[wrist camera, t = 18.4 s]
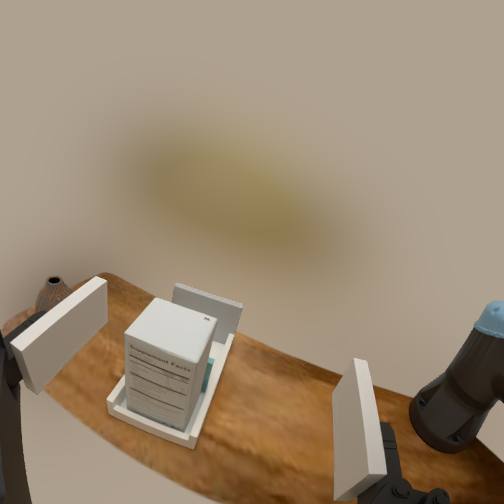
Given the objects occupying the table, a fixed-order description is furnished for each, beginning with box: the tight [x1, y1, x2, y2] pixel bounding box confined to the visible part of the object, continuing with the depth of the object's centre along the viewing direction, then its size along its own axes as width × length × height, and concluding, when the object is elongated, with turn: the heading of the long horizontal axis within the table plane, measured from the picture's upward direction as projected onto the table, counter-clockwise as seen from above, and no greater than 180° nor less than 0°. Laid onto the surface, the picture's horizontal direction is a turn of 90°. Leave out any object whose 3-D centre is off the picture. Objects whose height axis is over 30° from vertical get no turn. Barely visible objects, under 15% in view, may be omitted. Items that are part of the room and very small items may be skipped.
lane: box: [106, 283, 243, 450], centre depth 35 cm, size 21×11×8 cm, turn 171°
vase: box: [36, 276, 73, 313], centre depth 35 cm, size 7×7×9 cm
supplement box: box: [124, 298, 218, 433], centre depth 29 cm, size 7×7×13 cm
